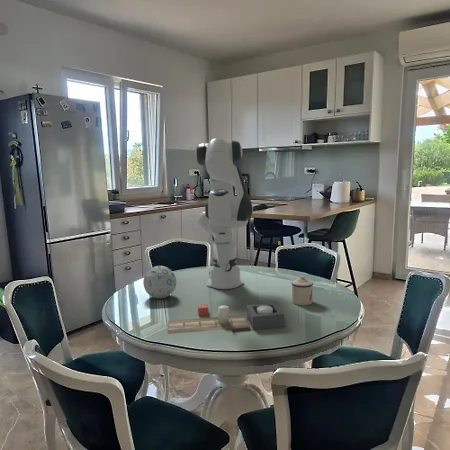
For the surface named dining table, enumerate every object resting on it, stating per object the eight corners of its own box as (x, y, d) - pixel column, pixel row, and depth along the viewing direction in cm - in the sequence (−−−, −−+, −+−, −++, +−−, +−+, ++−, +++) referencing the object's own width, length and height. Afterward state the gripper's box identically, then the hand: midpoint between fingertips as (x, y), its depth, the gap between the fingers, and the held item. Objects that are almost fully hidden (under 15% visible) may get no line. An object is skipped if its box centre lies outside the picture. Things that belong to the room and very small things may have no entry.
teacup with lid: (314, 305, 162) (314, 279, 160) (293, 306, 162) (293, 279, 160) (309, 296, 173) (309, 271, 172) (289, 296, 174) (289, 271, 172)
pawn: (218, 320, 146) (218, 305, 146) (228, 320, 146) (228, 305, 146) (218, 324, 142) (218, 309, 142) (229, 324, 143) (228, 309, 142)
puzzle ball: (143, 304, 169) (141, 271, 167) (145, 293, 184) (143, 263, 182) (177, 301, 172) (176, 269, 169) (176, 291, 186) (175, 261, 184)
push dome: (255, 313, 149) (255, 306, 148) (270, 312, 149) (270, 304, 149) (258, 319, 143) (258, 311, 142) (274, 318, 144) (274, 310, 143)
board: (168, 323, 148) (168, 320, 148) (244, 317, 151) (244, 314, 151) (167, 336, 136) (167, 333, 136) (250, 329, 140) (250, 327, 140)
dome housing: (246, 317, 152) (246, 305, 151) (276, 314, 153) (276, 302, 152) (252, 329, 140) (252, 316, 139) (284, 326, 141) (284, 314, 141)
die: (198, 314, 156) (197, 304, 156) (207, 313, 157) (207, 303, 156) (198, 317, 152) (198, 308, 152) (208, 317, 153) (208, 307, 152)
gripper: (209, 228, 152) (210, 261, 155) (214, 239, 132) (215, 277, 135) (225, 227, 153) (225, 261, 155) (232, 238, 133) (233, 276, 135)
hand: (221, 268), depth 145 cm, fingers open, 8 cm apart
